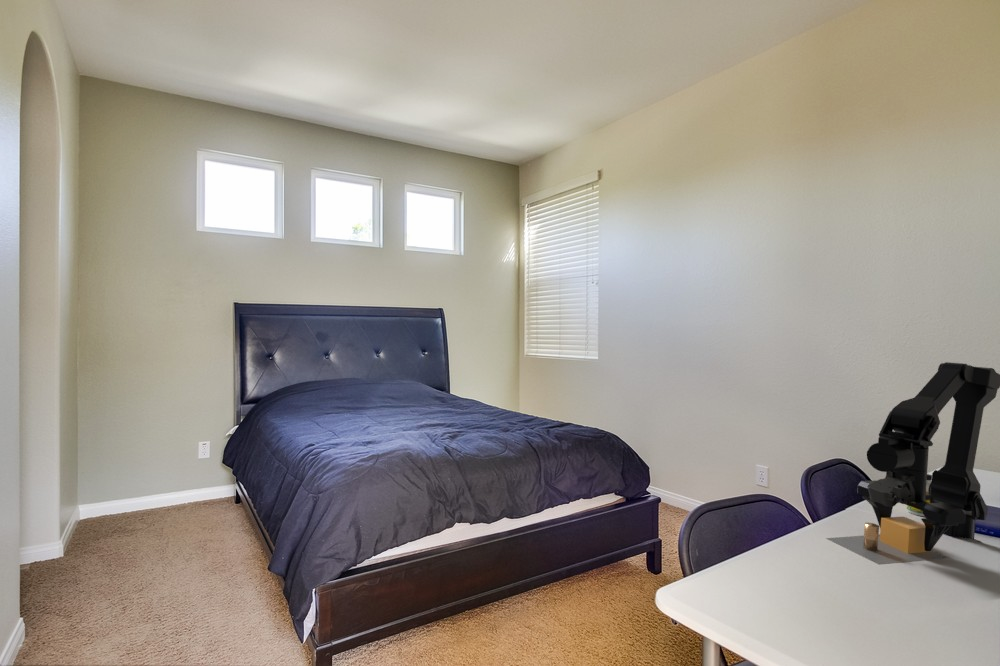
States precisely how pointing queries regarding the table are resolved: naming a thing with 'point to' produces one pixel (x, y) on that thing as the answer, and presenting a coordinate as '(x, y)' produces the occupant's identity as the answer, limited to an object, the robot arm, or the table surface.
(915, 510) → the supplement bottle
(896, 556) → the plate
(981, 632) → the table surface
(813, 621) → the table surface
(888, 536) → the cardboard cube
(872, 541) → the copper post
